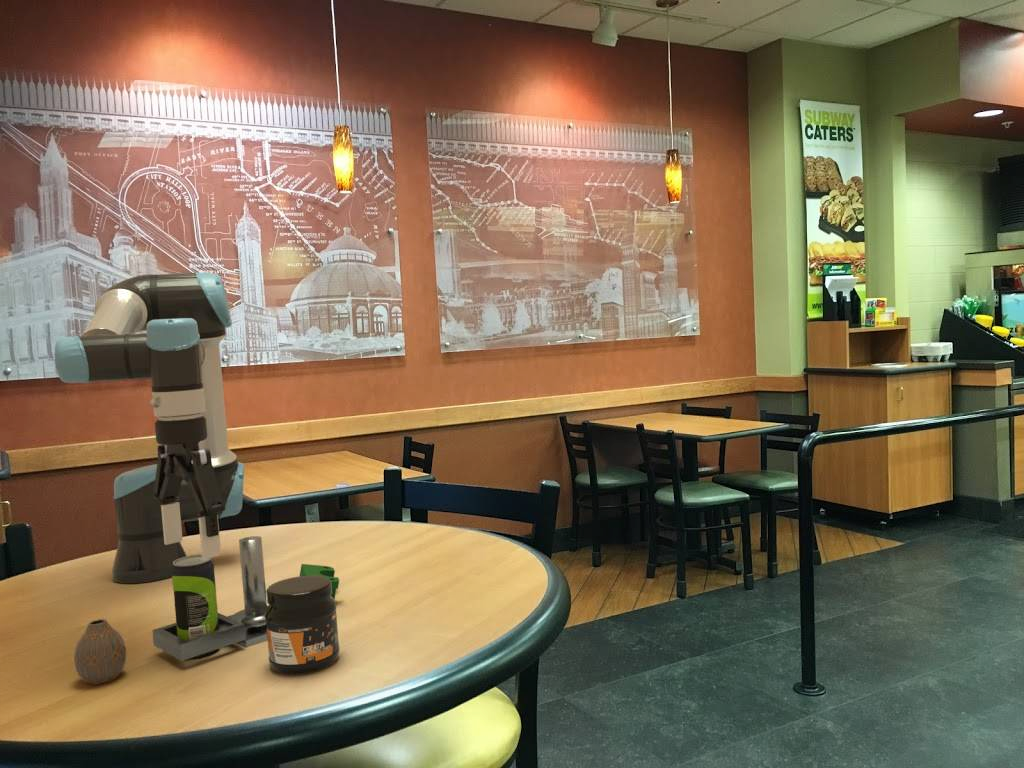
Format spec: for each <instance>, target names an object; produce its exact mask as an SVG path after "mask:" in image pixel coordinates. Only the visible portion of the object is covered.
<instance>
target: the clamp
mask: <svg viewBox="0 0 1024 768" xmlns="http://www.w3.org/2000/svg"><path fill="white" fill-rule="evenodd" d="M335 572H336V571H335V568H333V567H332V566H327V565H317V564H306V563H301V566H300V572H299V576H322V577H326V578H328V579H330V580H331V583H332V595H331V596H332V597H333V598H334V599H335V600H336V594H337V589H339V585H340V578H339V577H337V576H335Z"/></svg>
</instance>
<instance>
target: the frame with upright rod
mask: <svg viewBox="0 0 1024 768" xmlns="http://www.w3.org/2000/svg"><path fill="white" fill-rule="evenodd" d="M238 542H239V543H238V544H239V555H240V566H241V567H240V569H241V579H242V580H241V583H242V593H243V594H242V595H243V605H244V609H242V610H239V611H237V612H235V613H234V614H230V615H227V616H226V615H224V614H222V613H220V612H218V621H219V630H216V631H213V632H210V633H207V634H204V635H200V636H197V637H194V638H191V639H188V640H183V639H181V638H179V637H178V636H177V625H176V622H174V623H171V624H167V625H164V626H162V627H158V628H154V629H152V631H151V632H152V642H153V646H154V647H156V648H158V649H159V650H161V651H164V653H167V654H169V655H170V656H173V657H174V658H176V659H178V660H180V661H181V662H182V661H185V660H188V659H193V658H192V657H195V656H198V655H201V654H204V653H207V652H210V651H213V650H216V649H217V650H219V649H221V648H224V647H227V646H230V645H233V644H235V643H238V644H240V645H242V646H244V647H245V648H248V647H250V646H253V645H256V644H258V643H261V642H265V641H268V638H267V626H266V619H265V610H266V608H267V607H268V603H267V593H266V591H267V589H266V577H265V567H264V564H265V563H264V552H263V551H264V550H263V539H262V537H261V536H258V535H257V536H256V535H255V536H245V537H242V538H240V539H239V540H238ZM217 650H216V651H217Z"/></svg>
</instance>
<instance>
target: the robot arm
mask: <svg viewBox="0 0 1024 768" xmlns="http://www.w3.org/2000/svg"><path fill="white" fill-rule="evenodd" d="M93 308H94V309H93V317H92V319H91V320H90V322H89V324H88V325H87V326H86V328H85V329H84V331H83V332H82V333H81V335H80V336H79V335H72V336H68V337H66V336H65V337H60V338H58V339H57V341H56V342H55V345H54V363H55V369H56V374H57V376H58V378H59V380H60V381H62V382H63V383H65V384H75V383H76V384H77V383H79V384H80V383H82V384H88V383H97V382H98V383H100V382H111V381H112V382H113V381H114V382H115V381H124V380H138V379H139V380H142V379H150V380H151V381H150V382H151V391H152V392H151V395H152V398H151V399H150V400H149V403H150V405H152V408H153V416H154V417H156V418H158V419H157V420H155V422H154V433H155V441H156V443H157V444H158V445H157V463H156V464H150V465H146V466H143V467H142V466H141V467H138V468H134V469H131V470H128V471H125V472H123V473H120V474H119V475H118V476H116V477H115V479H114V482H113V496H112V497H113V498H112V499H113V500H114V506H115V517H116V527H117V537H118V545H117V548H116V552H115V555H114V556H115V557H114V560H113V565H112V568H111V569H112V573H111V574H112V580H113V582H116V583H118V584H119V583H121V584H139V583H149V582H155V581H160V580H164V579H168V578H172V568H173V567H174V565H173V562H174V561H175V560H177V559H179V558H182V557H186V556H188V555H187V553H186V551H185V549H184V547H183V544H182V542H183V530H182V529H183V528H182V523H183V522H191V521H198V528H199V538H200V540H199V541H200V548H201V549H200V550H201V555H202V558H203V559H206V558H210V557H211V558H214V557H217V556H221V555H222V550H221V549H222V548H221V536H220V524H219V519H222V518H225V517H231V516H236V515H238V514H239V513H241V511H242V508H243V500H244V499H243V495H244V476H245V464H244V463H243V462H240V461H239V462H238V458H237V457H238V456H237V454H236V453H235V452H233V451H232V450H230V449H229V438H228V428H227V417H226V406H225V393H224V384H223V375H222V374H223V372H222V370H223V369H222V360H221V351H220V348H221V347H220V343H221V342H222V340H224V338H225V337H226V333H227V332H226V329H227V328H231V327H232V325H233V322H232V316H231V311H230V305H229V300H228V297H227V293H226V289H225V286H224V281H223V279H222V277H221V276H220V275H219V274H217V273H213V272H212V273H211V272H198V271H197V272H183V273H166V274H165V273H164V274H163V273H161V274H159V273H158V274H142V275H136V276H133V277H129V278H126V279H124V280H122V281H119V282H117V283H115V284H113V285H111V286H110V287H108V288H107V289H105V291H104V292H102V293H101V294H100V296H99V297H98V298H97V300H96V301H95V304H94V307H93ZM145 331H146V332H145ZM139 332H141V333H139Z"/></svg>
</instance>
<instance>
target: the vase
mask: <svg viewBox="0 0 1024 768" xmlns="http://www.w3.org/2000/svg"><path fill="white" fill-rule="evenodd" d="M73 655H74V656H73V657H74V659H73V661H74V667H75V671H76V673H77V675H78V676H79V678H80V679H81V680H83V681H84V682H85V683H87V684H89V683H90V684H89V685H98V684H97V683H103V684H105V683H104V682H106V683H108V681H109V682H112V681H114V680H115V679H116V678H118V676H119V675H120V674H121V673H122V671H123V670H124V668H125V665H126V660H127V647H126V644H125V641H124V639H123V637H122V636H121V634H120V633H119V632H118V631H117V630H116V629H115V628H114V627H112V626H111V625H110V624H109V623H108V621H107V620H106V619H105V618H100V619H93V620H91V621H90V622H88V624H87V626H86V629H85V631H84V633H83V634H82V636H81V637H80V639H78V642H77V644H76V646H75V650H74V654H73ZM113 679H114V680H113ZM111 680H112V681H111Z"/></svg>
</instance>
